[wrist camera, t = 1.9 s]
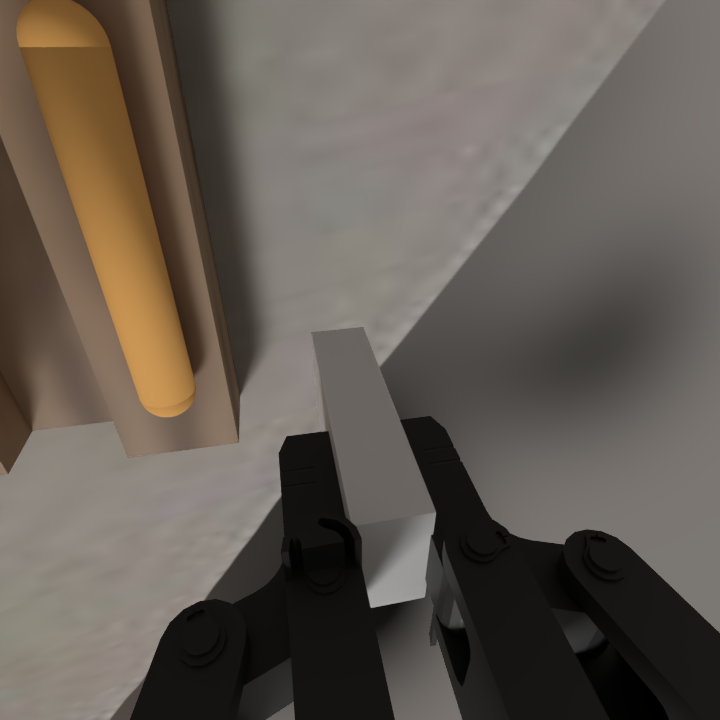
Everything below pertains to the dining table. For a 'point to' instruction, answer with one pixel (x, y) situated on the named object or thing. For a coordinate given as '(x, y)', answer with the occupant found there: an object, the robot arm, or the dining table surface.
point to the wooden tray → (75, 267)
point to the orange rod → (108, 193)
